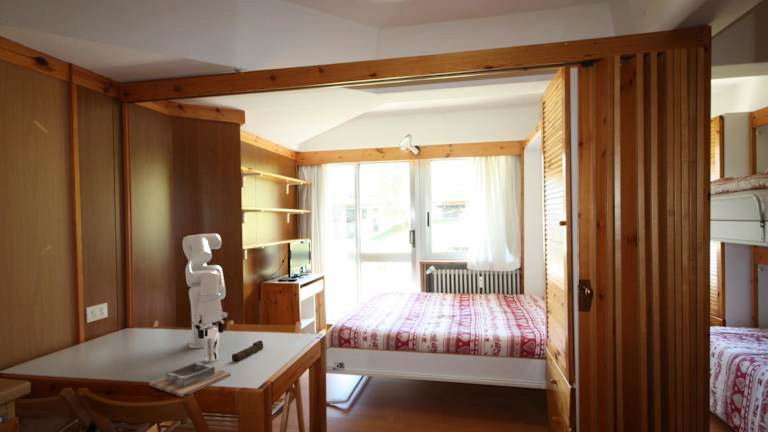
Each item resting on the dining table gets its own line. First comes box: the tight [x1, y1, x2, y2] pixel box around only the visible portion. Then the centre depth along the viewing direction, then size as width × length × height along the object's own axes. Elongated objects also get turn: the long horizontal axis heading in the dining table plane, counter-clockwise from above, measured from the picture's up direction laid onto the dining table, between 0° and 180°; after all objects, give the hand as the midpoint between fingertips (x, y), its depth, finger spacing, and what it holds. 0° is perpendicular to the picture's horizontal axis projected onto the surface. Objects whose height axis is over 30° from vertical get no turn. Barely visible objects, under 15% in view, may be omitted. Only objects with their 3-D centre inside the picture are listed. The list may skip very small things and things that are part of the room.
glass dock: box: [149, 361, 231, 398], centre depth 143 cm, size 22×20×4 cm
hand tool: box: [231, 340, 264, 363], centre depth 170 cm, size 19×4×5 cm, turn 156°
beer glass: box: [203, 324, 220, 363], centre depth 165 cm, size 7×7×15 cm
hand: (211, 335), depth 164 cm, fingers open, 9 cm apart
